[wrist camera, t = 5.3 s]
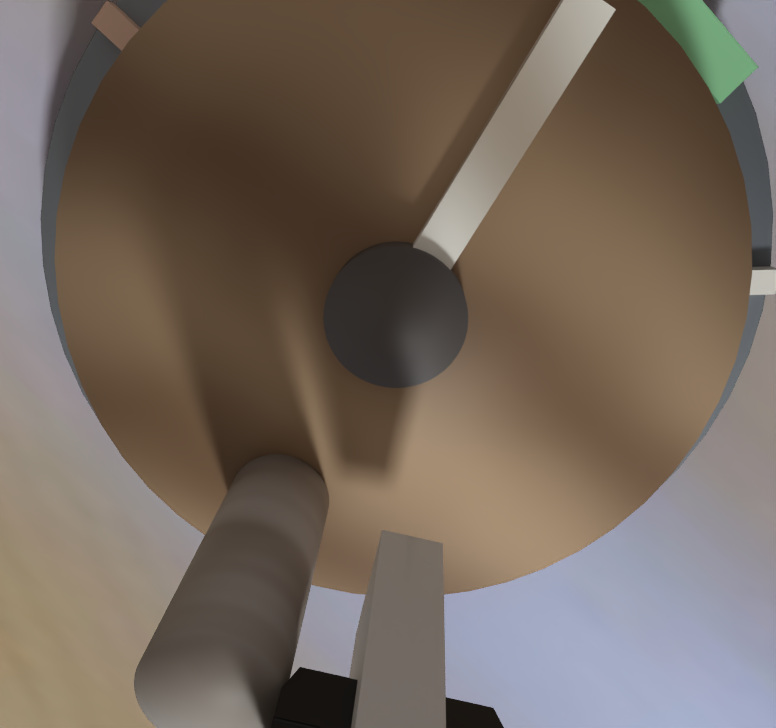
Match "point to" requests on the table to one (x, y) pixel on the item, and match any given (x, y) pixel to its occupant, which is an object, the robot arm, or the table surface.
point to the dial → (392, 297)
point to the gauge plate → (667, 3)
